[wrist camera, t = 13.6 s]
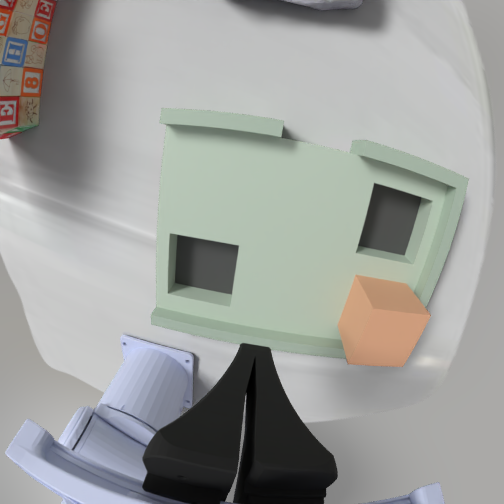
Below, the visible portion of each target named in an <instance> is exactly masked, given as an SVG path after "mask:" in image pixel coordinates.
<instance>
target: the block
mask: <svg viewBox="0 0 504 504" xmlns="http://www.w3.org/2000/svg"><path fill="white" fill-rule="evenodd" d="M430 316H431V315H430V313H429V312H428V311H427V309H426V308H425V307H424V305H423V304H422V303H421V302H420V300H419V299H418V298H417V296H416V295H415V294H414V292H413V291H412V290H411V289H410V287H409V286H408V285H407V284H406V283H401V282H395V281H389V280H384V279H378V278H372V277H367V276H361V275H355V278H354V281H353V284H352V286H351V289H350V292H349V295H348V298H347V301H346V303H345V306H344V309H343V312H342V314H341V317H340V320H339V322H338V329H339V333H340V336H341V340H342V344H343V347H344V351H345V355H346V359H347V363H348V364H353V365H369V366H393V367H403V366H404V364H405V362H406V361H407V359H408V357H409V356H410V354H411V352H412V350H413V349H414V347H415V345H416V343H417V341H418V340H419V338H420V336H421V334H422V332H423V330H424V328H425V326H426V324H427V322H428V320H429V318H430Z"/></svg>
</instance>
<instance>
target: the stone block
mask: <svg viewBox="0 0 504 504" xmlns="http://www.w3.org/2000/svg"><path fill="white" fill-rule="evenodd" d="M279 1H286V2H290V3H294V4H298V5H303V6H307V7H311V8H313V9H316V10H321V11H324V10H331V9H350V8H352V9H355V8H358V7H359V6H360V5H361V4H362V2H363V0H279Z"/></svg>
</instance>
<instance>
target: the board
mask: <svg viewBox="0 0 504 504" xmlns="http://www.w3.org/2000/svg"><path fill="white" fill-rule="evenodd" d="M160 124H167V125H166V132H165V140H164V148H163V157H162V166H161V177H160V188H159V202H158V219H157V243H156V308H155V309H154V311H153V312H152V314H151V324H152V325H155V326H159V327H163V328H167V329H171V330H175V331H179V332H183V333H188V334H192V335H196V336H201V337H206V338H210V339H215V340H220V341H225V342H230V343H235V344H242V343H248V344H254V345H259V346H266V347H269V348H270V349H271V350H277V351H284V352H291V353H298V354H306V355H315V356H324V357H333V358H344V359H346V355H345V351H344V347H343V344H342V340H341V336H340V333H339V329H338V322H339V320H340V317H341V314H342V312H343V309H344V306H345V303H346V301H347V298H348V295H349V292H350V289H351V286H352V284H353V281H354V278H355V275H361V276H367V277H372V278H378V279H384V280H389V281H395V282H401V283H406V284H407V285H408V286H409V287H410V289H411V290H412V291H413V292H414V294H415V295H416V296H417V298H418V299H419V300H420V302H421V303H422V304H423V305H424V307H425V308H426V306H427V304H428V302H429V300H430V298H431V295H432V293H433V291H434V288H435V286H436V283H437V281H438V279H439V276H440V274H441V271H442V268H443V266H444V263H445V260H446V258H447V255H448V252H449V249H450V246H451V243H452V240H453V237H454V234H455V231H456V227H457V224H458V221H459V217H460V213H461V210H462V206H463V202H464V198H465V194H466V189H467V185H468V180H469V179H468V178H466V177H464V176H462V175H460V174H457V173H455V172H453V171H451V170H448V169H446V168H444V167H441V166H439V165H436V164H434V163H432V162H429V161H426V160H424V159H421V158H419V157H416V156H413V155H410V154H408V153H405V152H402V151H399V150H396V149H393V148H390V147H387V146H384V145H381V144H378V143H375V142H371V141H368V140H356V141H352V146H351V152H350V153H348V152H344V151H340V150H336V149H332V148H328V147H324V146H319V145H315V144H310V143H306V142H301V141H296V140H291V139H285V138H281V136H282V130H283V124H284V121H283V120H278V119H272V118H265V117H259V116H252V115H244V114H236V113H227V112H218V111H206V110H192V109H172V108H162V109H161V116H160Z"/></svg>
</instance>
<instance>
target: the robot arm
mask: <svg viewBox="0 0 504 504" xmlns="http://www.w3.org/2000/svg"><path fill="white" fill-rule="evenodd" d="M120 340H121V346H122V352H123V357H124V362H123V364H122V365H121V367H120V369H119V370H118V372H117V373H116V375H115V377H114V378H113V380H112V382H111V383H110V385H109V387H108V388H107V390H106V391H105V393H104V395H103V397H102V398H101V400H100V402H99V403H98V405H97V407H96V408H95V409H94V410H93V409H92V408H91V407H89V406H86V407H79V409H78V410H77V412H76V413H75V414H74V416H73V417H72V419H71V420H70V422H69V423H68V425H67V427H66V428H65V430H64V432H63V433H62V435H61V436H60V438H59V440H58V442H57V441H55V440H54V438H53V437H52V435H51V434H50V433H49V432H48V431H47V430H45V429H44V428H42V427H41V426H39V425H38V424H36V423H35V422H33V421H32V420H30V419H27V420H26V421H25V423H24V424H23V426H22V427H21V428H20V430H19V431H18V433H17V434H16V436H15V438H14V439H13V441H12V442H11V444H10V445H9V447H8V448H7V450H6V452H5V454H6V455H7V456H8V457H9V458H10V459H11V460H12V461H13V462H14V463H16V464H17V465H18V466H19V467H20V468H21V469H22V470H24V471H25V472H26V473H27V474H28V475H29V476H31V477H32V478H33V479H35V480H36V481H38V482H39V483H41V484H42V485H44V486H45V487H47V488H48V489H50V490H51V491H53V492H54V493H56V494H58V495H59V496H61V497H62V498H63V500H62V502H61V504H324V497H326V488H327V487H328V486H330V485H331V484H332V483H333V482H334V481H335V480H336V479H337V476H338V475H337V467H336V463H335V459H334V456H333V455H332V454H331V453H330V452H329V451H328V450H326V448H325V447H324V446H323V445H322V444H321V443H320V442H319V441H318V440H317V439H316V438H315V437H314V436H313V435H312V433H311V432H310V431H309V429H308V428H307V427H306V426H305V424H304V423H303V422H302V420H301V419H300V417H299V416H298V414H297V413H296V411H295V410H294V408H293V406H292V405H291V403H290V401H289V399H288V397H287V395H286V393H285V391H284V389H283V387H282V384H281V382H280V379H279V377H278V374H277V371H276V368H275V365H274V362H273V358H272V353H271V349H270V348H269V347H266V346H259V345H254V344H248V343H242V344H240V347H239V350H238V352H237V354H236V356H235V358H234V360H233V362H232V363H231V365H230V366H229V368H228V369H227V371H226V372H225V374H224V375H223V376H222V377H221V379H220V380H219V381H218V382H217V384H216V385H215V386H214V387H213V388H212V389H211V390H210V392H209V393H208V394H207V395H206V396H205V397H204V398H202V399H201V400H200V401H199V402H198V403H197V404H196V405H195V406H193V407H192V405H193V364H194V356H193V354H191V353H189V352H185V351H181V350H177V349H173V348H169V347H165V346H161V345H158V344H154V343H151V342H147V341H144V340H140V339H137V338H133V337H130V336H127V335H122V336H121V337H120ZM188 360H189V361H188ZM246 392H247V393H246ZM245 396H246V416H245V435H244V442H243V448H242V455H241V461H240V467H239V472H238V478H237V484H236V489H235V494H234V500H233V503H231V502H225V500H226V498H227V495H228V493H229V492H230V489H231V487H232V484H233V482H234V479H235V477H236V474H237V469H238V468H237V467H238V462H239V451H240V439H241V430H242V421H243V412H244V404H245ZM183 407H185V408H191V409H190V410H188V411H187V412H186V413H184V414H183V415H182V416H180V415H181V412H182V409H183ZM361 504H445V502H444V498H443V494H442V490H441V486H440V483H439V482H436V483H433V484H429V485H426V486H423V487H420V488H418V489H416V490H414V491H412V492H411V493H410V494H408V495H404V496H399V497H395V498H390V499H385V500H379V501H373V502H367V503H361Z"/></svg>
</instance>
